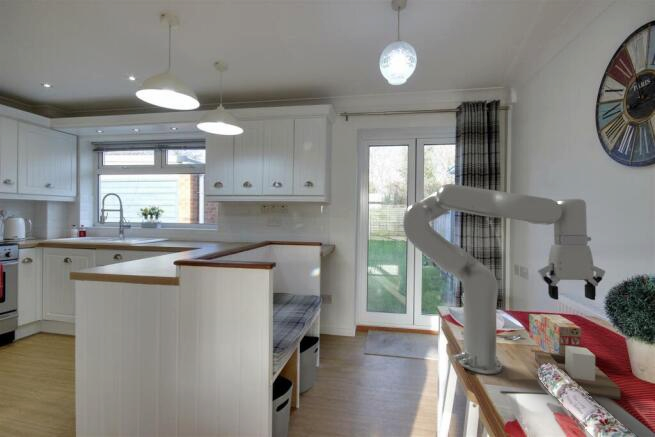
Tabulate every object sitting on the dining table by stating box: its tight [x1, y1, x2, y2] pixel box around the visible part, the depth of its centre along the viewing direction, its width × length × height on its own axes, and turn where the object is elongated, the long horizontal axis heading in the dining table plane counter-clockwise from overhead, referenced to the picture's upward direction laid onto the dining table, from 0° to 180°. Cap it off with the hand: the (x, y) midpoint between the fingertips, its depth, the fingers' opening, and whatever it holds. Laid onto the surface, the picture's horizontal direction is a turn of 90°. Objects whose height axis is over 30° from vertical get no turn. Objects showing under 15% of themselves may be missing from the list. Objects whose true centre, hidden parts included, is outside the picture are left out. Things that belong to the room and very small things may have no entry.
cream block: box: [565, 346, 596, 381], centre depth 84 cm, size 5×5×7 cm
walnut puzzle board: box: [534, 350, 621, 400], centre depth 89 cm, size 18×14×3 cm
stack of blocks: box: [528, 313, 582, 355], centre depth 107 cm, size 21×6×12 cm, turn 169°
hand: (571, 298), depth 88 cm, fingers open, 9 cm apart
